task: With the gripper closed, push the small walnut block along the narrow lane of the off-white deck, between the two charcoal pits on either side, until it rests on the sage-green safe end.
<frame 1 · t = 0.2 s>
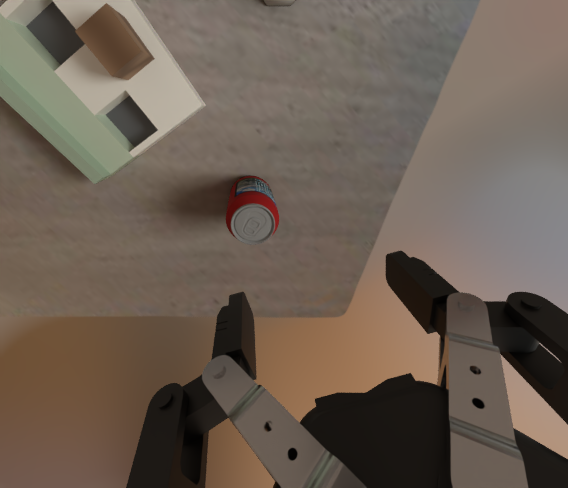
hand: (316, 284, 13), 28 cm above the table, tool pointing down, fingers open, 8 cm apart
beverage can: (251, 194, 39), on the table
walnut block: (126, 50, 26), point 3 cm above the table, touching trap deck
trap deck: (110, 78, 30), on the table
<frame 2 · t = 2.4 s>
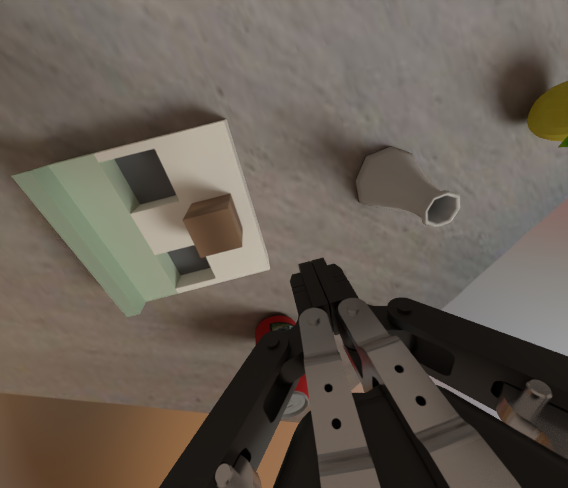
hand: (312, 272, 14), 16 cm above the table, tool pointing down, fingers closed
beverage can: (275, 325, 39), on the table
walnut block: (218, 216, 25), point 3 cm above the table, touching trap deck
flask: (382, 178, 29), on the table
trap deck: (182, 215, 27), on the table
lemon: (529, 111, 27), on the table
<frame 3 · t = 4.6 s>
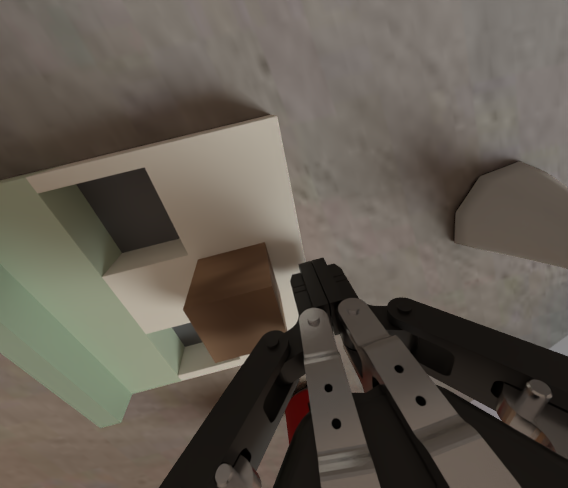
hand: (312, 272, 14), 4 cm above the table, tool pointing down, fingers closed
beverage can: (311, 395, 29), on the table
walnut block: (241, 277, 15), point 3 cm above the table, touching gripper, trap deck
flask: (492, 207, 19), on the table
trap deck: (190, 266, 17), on the table
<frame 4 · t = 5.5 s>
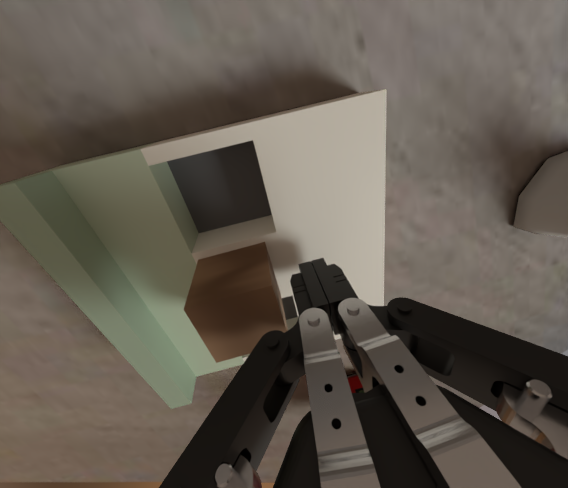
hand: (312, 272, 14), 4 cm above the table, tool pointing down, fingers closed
walnut block: (242, 277, 15), point 3 cm above the table, touching gripper, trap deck
flask: (552, 191, 19), on the table
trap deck: (259, 248, 18), on the table
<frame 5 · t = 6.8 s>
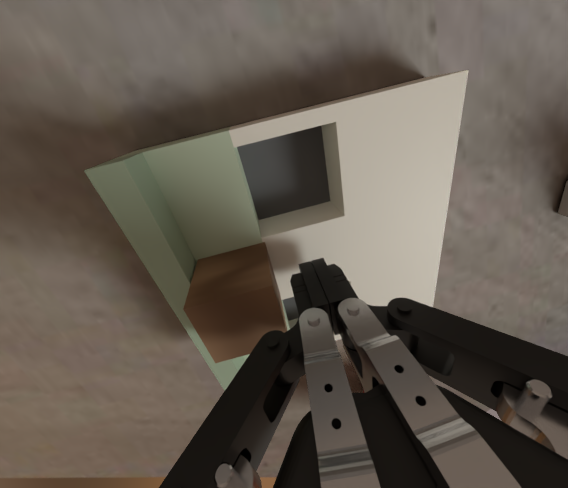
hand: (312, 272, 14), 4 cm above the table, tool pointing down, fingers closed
walnut block: (241, 277, 15), point 3 cm above the table, touching gripper, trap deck
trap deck: (312, 235, 18), on the table
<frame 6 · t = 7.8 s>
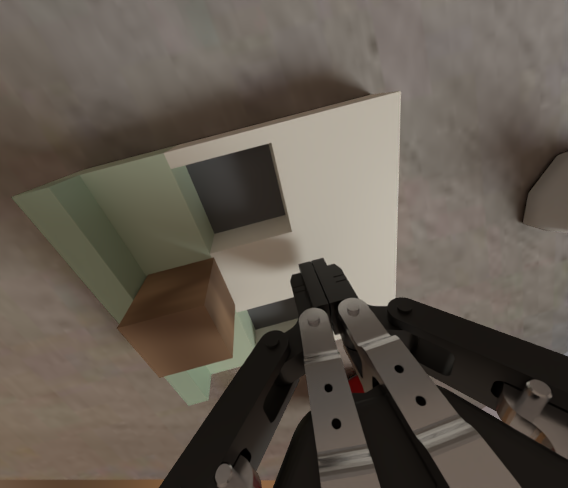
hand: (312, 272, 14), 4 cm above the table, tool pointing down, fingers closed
walnut block: (194, 290, 15), point 3 cm above the table, touching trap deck
flask: (561, 187, 19), on the table
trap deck: (272, 247, 18), on the table
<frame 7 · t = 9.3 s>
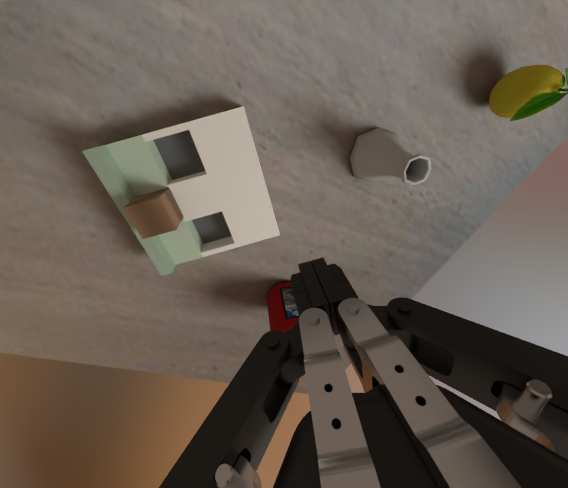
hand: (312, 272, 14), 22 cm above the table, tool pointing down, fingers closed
beverage can: (284, 293, 44), on the table
walnut block: (161, 206, 30), point 3 cm above the table, touching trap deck
flask: (372, 155, 34), on the table
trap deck: (206, 190, 33), on the table
lemon: (491, 96, 33), on the table
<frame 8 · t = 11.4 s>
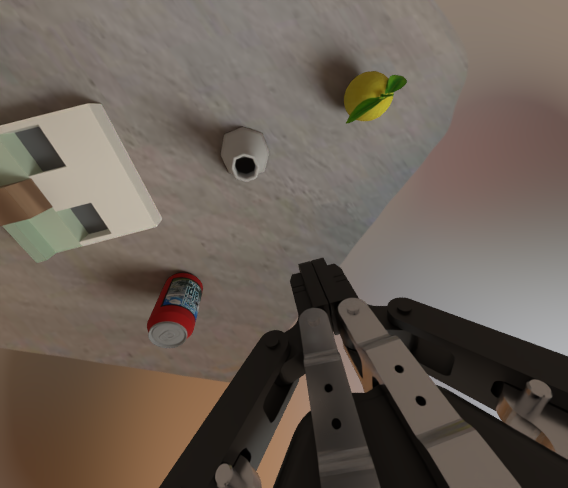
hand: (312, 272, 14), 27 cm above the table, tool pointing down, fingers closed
beverage can: (185, 284, 46), on the table
walnut block: (27, 196, 32), point 3 cm above the table, touching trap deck
flask: (245, 153, 36), on the table
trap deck: (81, 182, 34), on the table
lemon: (354, 99, 34), on the table
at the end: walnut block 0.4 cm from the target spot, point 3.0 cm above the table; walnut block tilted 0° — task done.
